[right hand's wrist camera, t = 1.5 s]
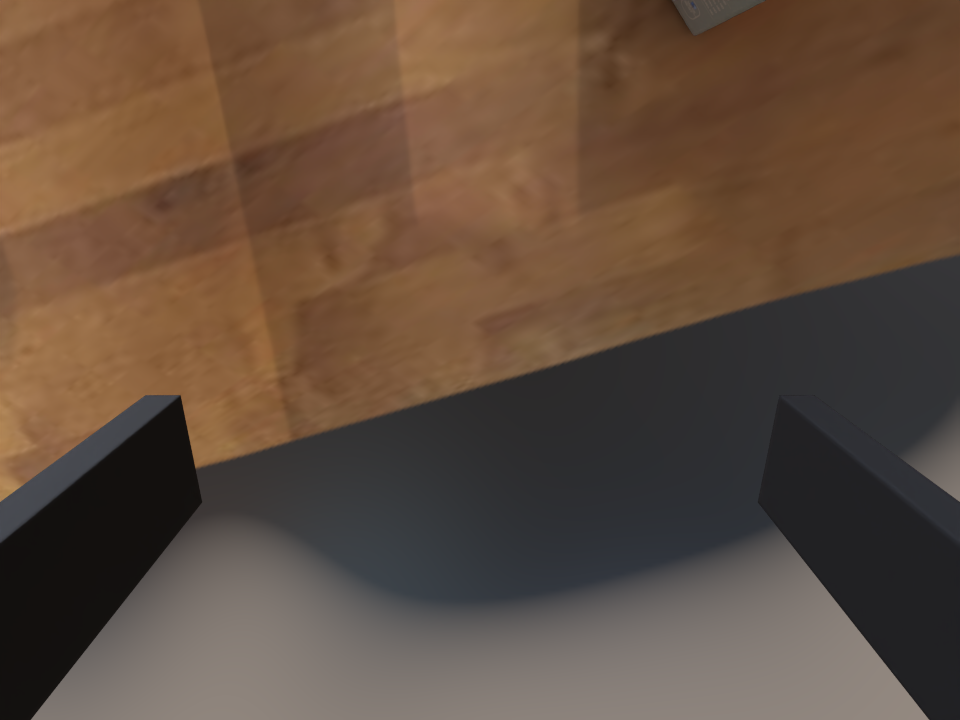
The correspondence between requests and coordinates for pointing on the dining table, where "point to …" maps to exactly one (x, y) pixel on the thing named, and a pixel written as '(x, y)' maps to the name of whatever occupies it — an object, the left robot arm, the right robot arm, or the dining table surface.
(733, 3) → the hard drive box
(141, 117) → the dining table surface
